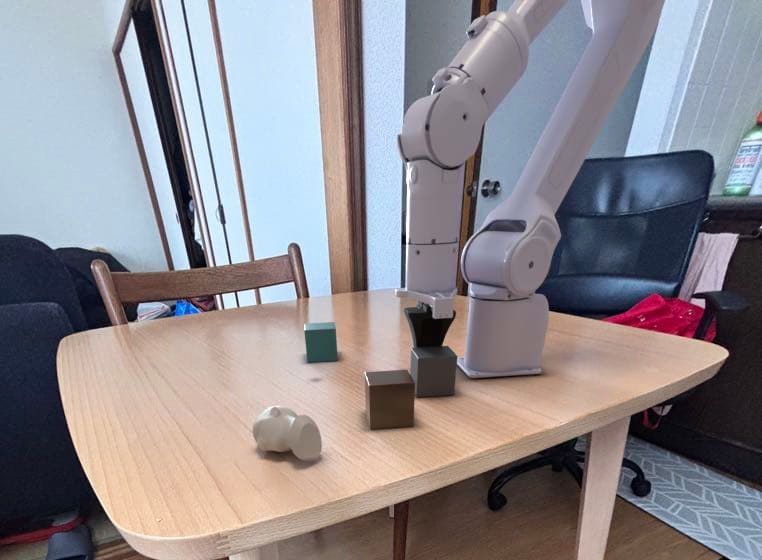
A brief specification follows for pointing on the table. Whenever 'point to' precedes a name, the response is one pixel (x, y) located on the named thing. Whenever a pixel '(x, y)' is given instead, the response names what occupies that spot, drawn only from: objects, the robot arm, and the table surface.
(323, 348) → the teal block
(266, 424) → the smooth white sculpture
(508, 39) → the robot arm
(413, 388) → the walnut block
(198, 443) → the table surface
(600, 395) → the table surface
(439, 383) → the grey block
